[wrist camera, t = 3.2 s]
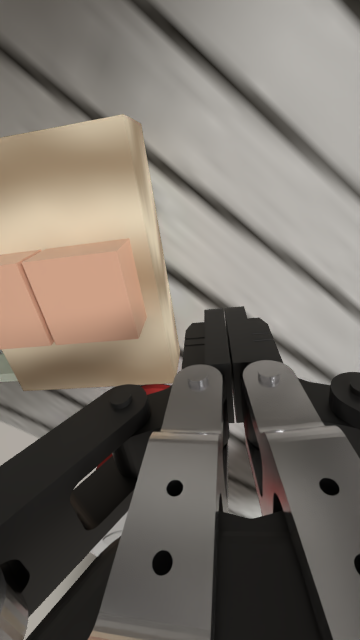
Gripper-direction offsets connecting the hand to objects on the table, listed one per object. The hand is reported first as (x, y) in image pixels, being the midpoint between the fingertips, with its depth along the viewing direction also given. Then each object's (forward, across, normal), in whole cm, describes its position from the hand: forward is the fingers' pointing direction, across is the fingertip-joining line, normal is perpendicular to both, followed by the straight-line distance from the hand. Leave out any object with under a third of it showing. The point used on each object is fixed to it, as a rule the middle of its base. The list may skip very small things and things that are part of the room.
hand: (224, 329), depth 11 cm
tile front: (+6, +7, 0) cm, 9 cm away
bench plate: (+10, +10, 0) cm, 14 cm away
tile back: (+6, +12, 0) cm, 14 cm away
